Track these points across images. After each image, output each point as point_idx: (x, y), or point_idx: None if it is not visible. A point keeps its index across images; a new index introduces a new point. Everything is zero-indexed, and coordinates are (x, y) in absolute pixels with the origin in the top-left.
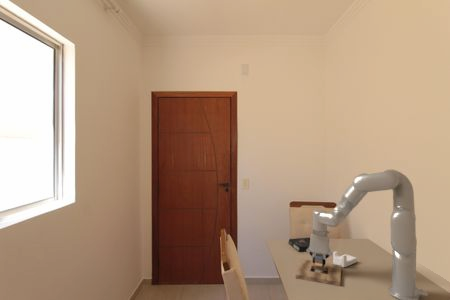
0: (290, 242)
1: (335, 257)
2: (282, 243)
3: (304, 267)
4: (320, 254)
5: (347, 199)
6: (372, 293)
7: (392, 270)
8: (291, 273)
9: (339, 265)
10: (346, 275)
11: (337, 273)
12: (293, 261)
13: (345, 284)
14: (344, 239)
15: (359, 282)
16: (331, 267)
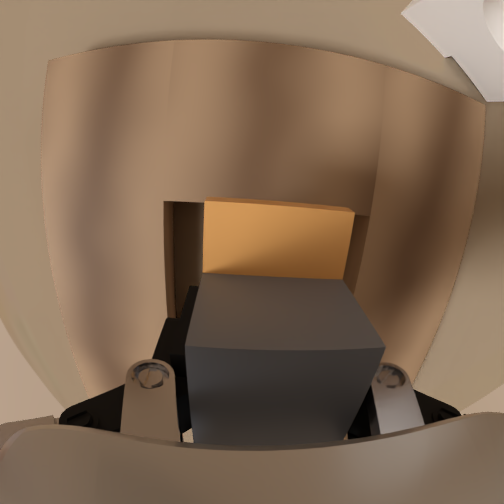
0: None
1: (470, 10)
2: None
3: (100, 287)
4: (310, 387)
5: None
6: (488, 386)
7: None
8: (52, 338)
9: (474, 113)
10: (475, 237)
11: (425, 313)
12: (6, 92)
13: (422, 372)
14: None
15: (499, 312)
16: (404, 185)
